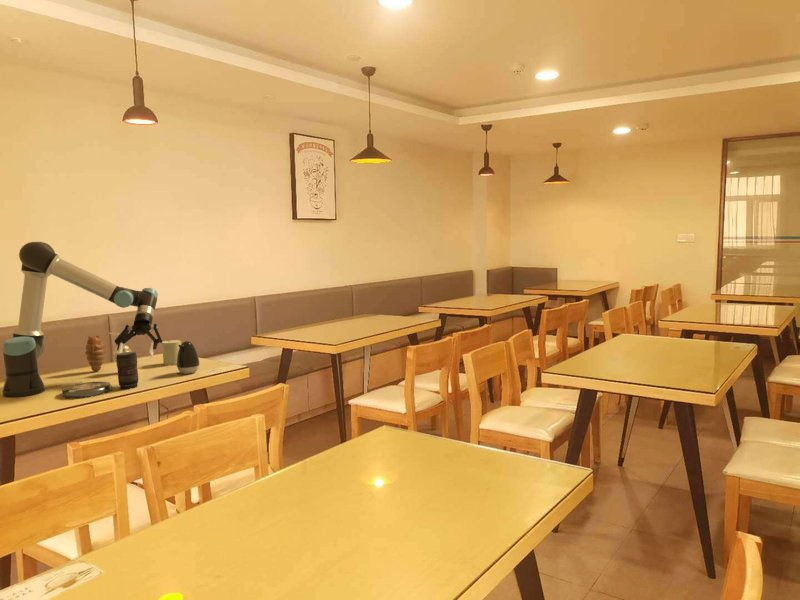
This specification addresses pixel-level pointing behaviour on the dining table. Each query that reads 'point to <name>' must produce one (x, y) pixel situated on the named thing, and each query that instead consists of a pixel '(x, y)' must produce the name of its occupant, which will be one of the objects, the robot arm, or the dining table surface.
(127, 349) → the cup with straw
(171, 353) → the pale green cup
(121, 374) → the camera lens
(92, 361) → the croissant
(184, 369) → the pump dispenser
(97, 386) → the plate
